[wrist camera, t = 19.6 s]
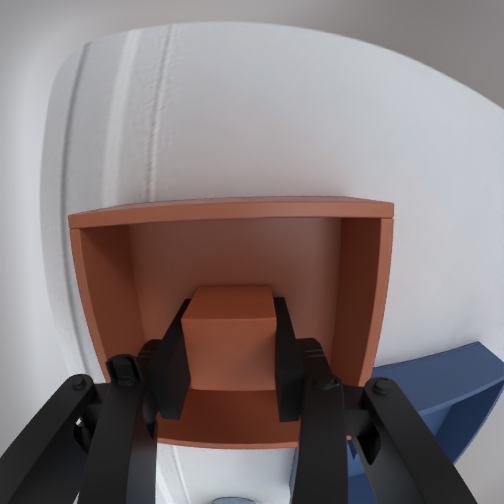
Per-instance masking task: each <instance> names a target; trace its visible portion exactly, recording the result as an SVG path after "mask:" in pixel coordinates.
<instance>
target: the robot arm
mask: <svg viewBox="0 0 504 504" xmlns="http://www.w3.org/2000/svg"><path fill="white" fill-rule="evenodd" d="M190 301H191V299H185V300H184V302H183V303H182V305H181V307H180V309H179V310H178V312H177V314H176V316H175V317H174V319H173V321H172V323H171V324H170V326H169V328H168V330H167V331H166V333H165V335H164V337H163V338H162V340H161V339H151V340H150V341H148V342H147V343H145V344H144V345H143V347H142V349H141V350H140V352H139V353H138V355H137V356H136V357H135V356H133V355H131V354H118V355H115V356H112V357H111V358H109V359H108V360H107V361H106V362H105V364H106V367H107V370H108V373H109V376H110V379H111V382H110V383H101V384H94V382H93V379H92V378H91V377H90V376H88V375H86V374H76V375H73V376H71V377H69V378H68V379H67V380H66V381H65V382H64V383H63V384H62V385H61V386H60V387H59V389H58V390H57V391H56V392H55V393H54V394H53V395H52V396H51V398H50V399H49V400H48V401H47V402H46V403H45V404H44V406H43V407H42V408H41V409H40V410H39V411H38V412H37V414H36V415H35V416H34V417H33V418H32V419H31V421H30V422H29V423H28V424H27V425H26V427H25V428H24V429H23V430H22V431H21V433H20V434H19V435H18V436H17V437H16V439H15V440H14V441H13V442H12V444H11V445H10V446H9V447H8V449H7V450H6V451H5V452H4V454H3V455H2V456H1V458H0V504H73V502H74V500H75V499H76V497H77V495H78V493H79V496H78V501H77V504H155V483H156V454H157V437H158V422H157V419H156V415H157V413H158V410H159V412H160V415H161V418H163V419H171V420H180V416H181V413H182V410H183V406H184V403H185V399H186V396H187V392H188V389H189V386H190V382H191V375H190V370H189V364H188V359H187V353H186V347H185V340H184V334H183V331H182V324H181V318H182V316H183V314H184V312H185V311H186V309H187V307H188V305H189V303H190ZM273 301H274V307H275V313H276V319H277V326H276V354H275V385H276V394H277V404H278V413H279V422H294V421H299V415H300V418H301V424H300V431H299V438H298V449H297V456H296V464H295V471H294V478H293V484H292V491H291V497H290V503H289V504H348V455H347V436H351V438H352V441H353V443H354V446H355V448H356V450H357V453H358V455H359V458H360V460H361V463H362V465H363V468H364V470H365V473H366V475H367V478H368V480H369V483H370V485H371V488H372V491H373V493H374V496H375V498H376V501H377V503H378V504H477V502H476V500H475V499H474V497H473V495H472V493H471V492H470V490H469V489H468V487H467V485H466V484H465V482H464V481H463V479H462V478H461V476H460V474H459V473H458V471H457V470H456V468H455V466H454V465H453V463H452V462H451V460H450V459H449V457H448V456H447V454H446V453H445V451H444V450H443V448H442V447H441V445H440V444H439V442H438V441H437V439H436V438H435V436H434V435H433V433H432V432H431V431H430V429H429V428H428V426H427V425H426V423H425V422H424V420H423V419H422V418H421V416H420V415H419V413H418V412H417V410H416V409H415V408H414V406H413V405H412V403H411V402H410V401H409V399H408V398H407V396H406V395H405V394H404V392H403V391H402V389H401V388H400V387H399V385H398V384H397V383H396V382H395V381H394V380H392V379H390V378H387V377H374V378H371V379H369V380H368V381H367V382H365V385H364V387H361V386H350V385H346V384H343V383H342V382H341V379H339V378H338V377H337V376H335V375H333V374H332V371H331V369H330V366H329V364H328V361H327V359H326V356H325V354H324V351H323V349H322V346H321V344H320V342H318V341H317V340H316V339H315V338H298V339H296V337H295V333H294V330H293V326H292V322H291V319H290V315H289V312H288V308H287V304H286V301H285V297H273ZM79 418H80V420H81V422H80V424H78V425H77V424H76V422H77V421H78V419H79Z"/></svg>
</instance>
